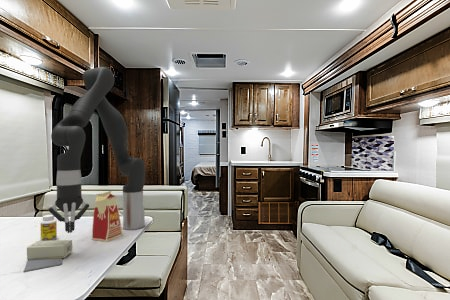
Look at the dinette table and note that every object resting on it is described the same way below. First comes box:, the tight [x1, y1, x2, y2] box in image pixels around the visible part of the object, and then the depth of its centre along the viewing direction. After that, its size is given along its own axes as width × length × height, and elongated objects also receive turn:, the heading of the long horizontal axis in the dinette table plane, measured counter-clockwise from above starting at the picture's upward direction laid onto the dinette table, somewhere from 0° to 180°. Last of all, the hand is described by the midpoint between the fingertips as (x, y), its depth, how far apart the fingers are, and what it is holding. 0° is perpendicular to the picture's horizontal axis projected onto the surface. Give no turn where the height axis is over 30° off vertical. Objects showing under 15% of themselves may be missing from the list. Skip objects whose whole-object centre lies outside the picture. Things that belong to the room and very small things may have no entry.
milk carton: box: [91, 190, 124, 243], centre depth 114 cm, size 9×9×20 cm
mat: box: [23, 258, 63, 273], centre depth 91 cm, size 10×13×1 cm
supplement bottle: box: [40, 214, 58, 241], centre depth 111 cm, size 6×6×10 cm
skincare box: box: [26, 239, 73, 260], centre depth 95 cm, size 6×4×12 cm
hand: (69, 232), depth 94 cm, fingers closed
